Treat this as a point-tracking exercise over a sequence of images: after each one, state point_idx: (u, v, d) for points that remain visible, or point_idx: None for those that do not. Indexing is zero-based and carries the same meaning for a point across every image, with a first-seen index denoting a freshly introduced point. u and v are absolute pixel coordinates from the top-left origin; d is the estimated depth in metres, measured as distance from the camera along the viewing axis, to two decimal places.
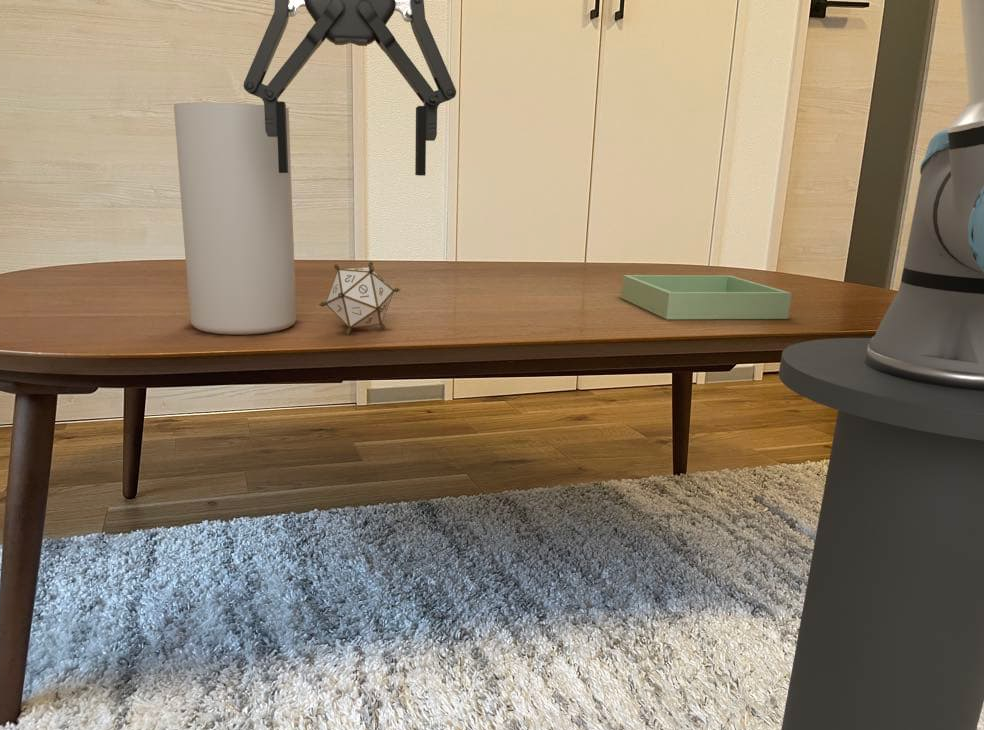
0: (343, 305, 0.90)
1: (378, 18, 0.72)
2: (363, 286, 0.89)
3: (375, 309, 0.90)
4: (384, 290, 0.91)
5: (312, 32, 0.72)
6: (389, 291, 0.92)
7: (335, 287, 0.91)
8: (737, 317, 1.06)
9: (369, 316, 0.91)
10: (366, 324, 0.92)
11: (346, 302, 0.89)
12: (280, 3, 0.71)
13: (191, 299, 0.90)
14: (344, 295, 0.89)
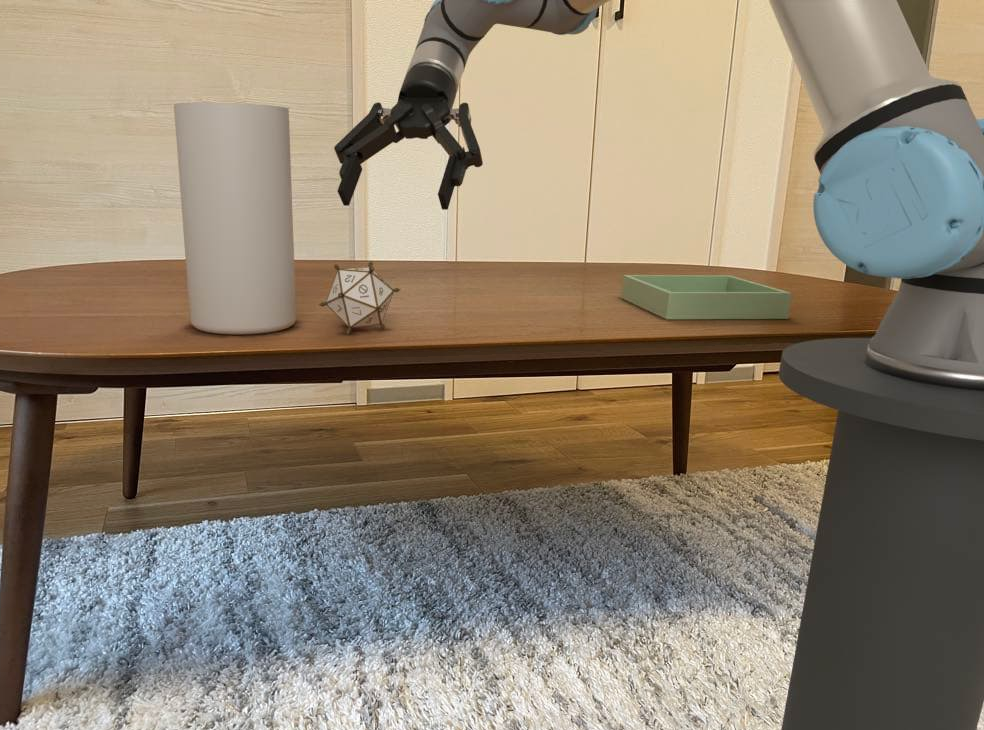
0: (343, 305, 0.90)
1: (433, 112, 1.03)
2: (363, 286, 0.89)
3: (375, 309, 0.90)
4: (384, 290, 0.91)
5: (388, 119, 1.04)
6: (389, 291, 0.92)
7: (335, 287, 0.91)
8: (737, 317, 1.06)
9: (369, 316, 0.91)
10: (366, 324, 0.92)
11: (346, 302, 0.89)
12: (373, 110, 1.06)
13: (191, 299, 0.90)
14: (344, 295, 0.89)
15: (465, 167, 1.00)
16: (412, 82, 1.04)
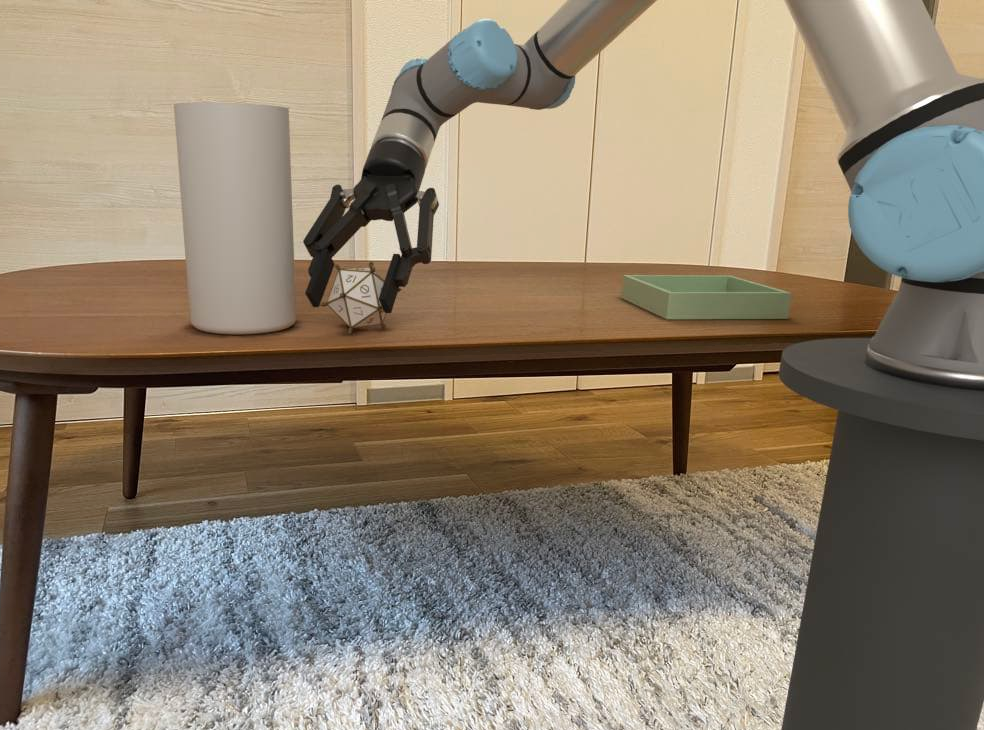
0: (345, 305, 0.90)
1: (396, 195, 0.94)
2: (364, 286, 0.89)
3: (377, 309, 0.90)
4: None
5: (353, 204, 0.95)
6: None
7: (336, 287, 0.91)
8: (737, 317, 1.06)
9: (370, 316, 0.91)
10: (367, 324, 0.92)
11: (348, 302, 0.89)
12: (334, 193, 0.97)
13: (191, 299, 0.90)
14: (345, 296, 0.89)
15: (411, 265, 0.91)
16: (376, 159, 0.95)
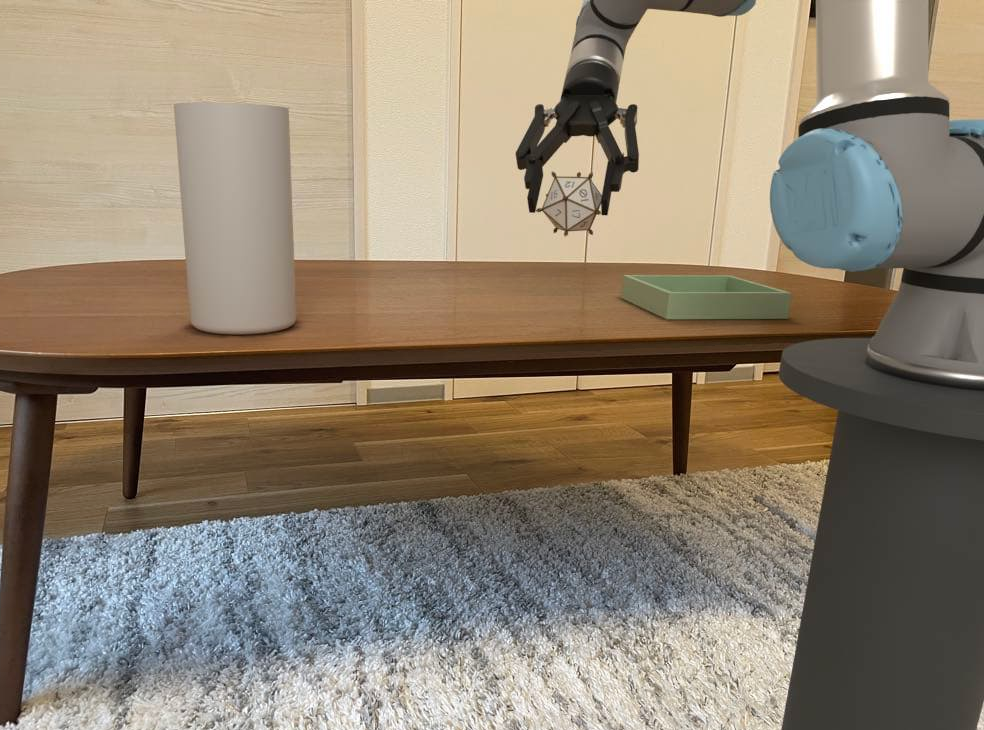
0: (564, 208, 0.97)
1: (601, 111, 1.02)
2: (583, 190, 0.97)
3: (593, 212, 0.97)
4: (597, 196, 0.99)
5: (559, 119, 1.03)
6: (600, 198, 1.00)
7: (554, 193, 0.98)
8: (737, 317, 1.06)
9: (586, 220, 0.98)
10: (579, 228, 1.00)
11: (568, 205, 0.97)
12: (538, 112, 1.05)
13: (191, 299, 0.90)
14: (567, 199, 0.97)
15: (622, 172, 0.99)
16: (580, 79, 1.03)
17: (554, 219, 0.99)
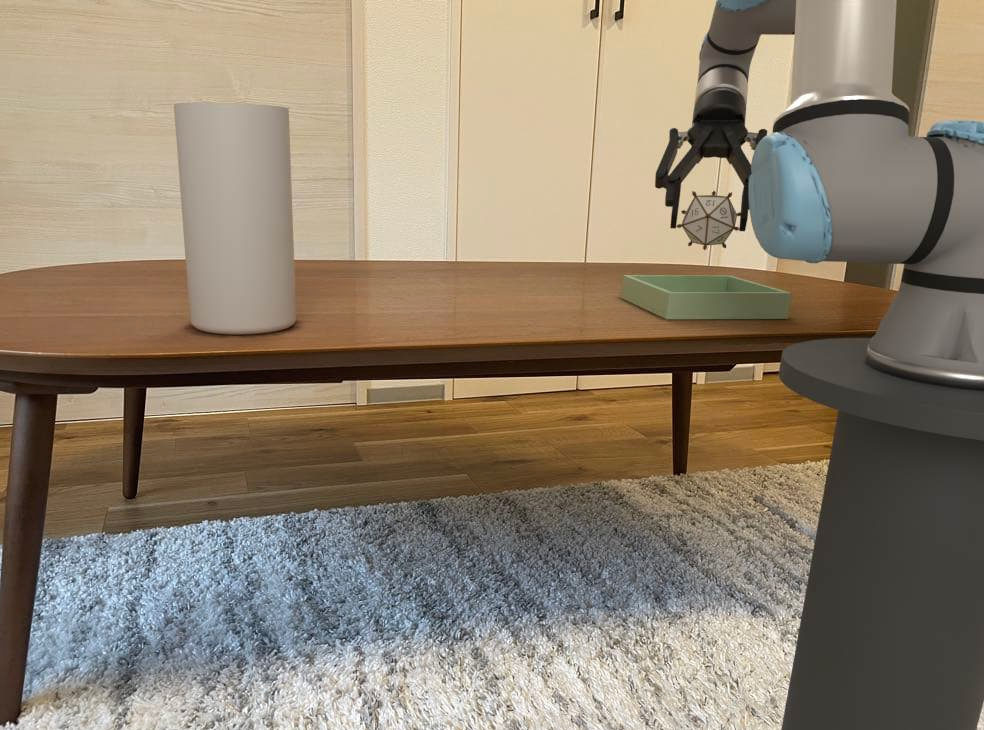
0: (705, 225, 1.07)
1: (734, 135, 1.12)
2: (723, 209, 1.07)
3: (732, 228, 1.07)
4: (733, 213, 1.09)
5: (695, 143, 1.12)
6: (735, 215, 1.10)
7: (695, 210, 1.08)
8: (737, 317, 1.06)
9: (723, 235, 1.08)
10: (716, 242, 1.10)
11: (709, 222, 1.07)
12: (673, 135, 1.15)
13: (191, 299, 0.90)
14: (709, 216, 1.07)
15: None
16: (714, 105, 1.13)
17: (694, 234, 1.09)
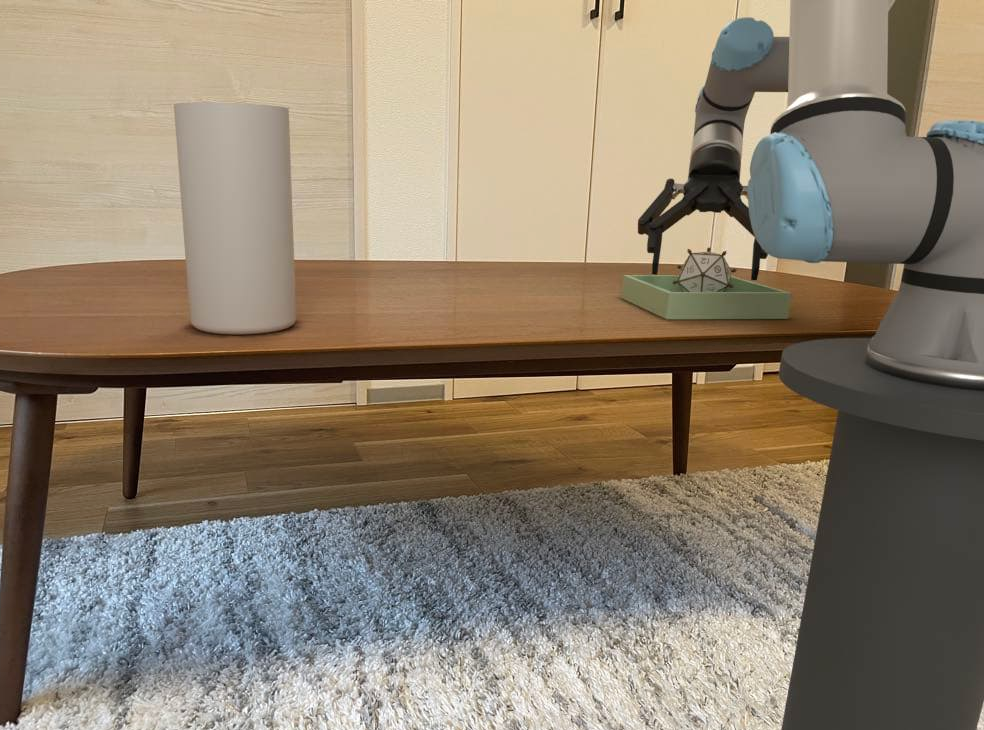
0: (700, 282, 1.10)
1: (731, 189, 1.14)
2: (717, 267, 1.10)
3: (726, 286, 1.10)
4: (728, 270, 1.11)
5: (686, 195, 1.15)
6: (730, 271, 1.12)
7: (690, 268, 1.11)
8: (737, 317, 1.06)
9: None
10: None
11: (704, 280, 1.09)
12: (668, 185, 1.18)
13: (191, 299, 0.90)
14: (703, 274, 1.09)
15: None
16: (709, 161, 1.15)
17: (689, 291, 1.12)
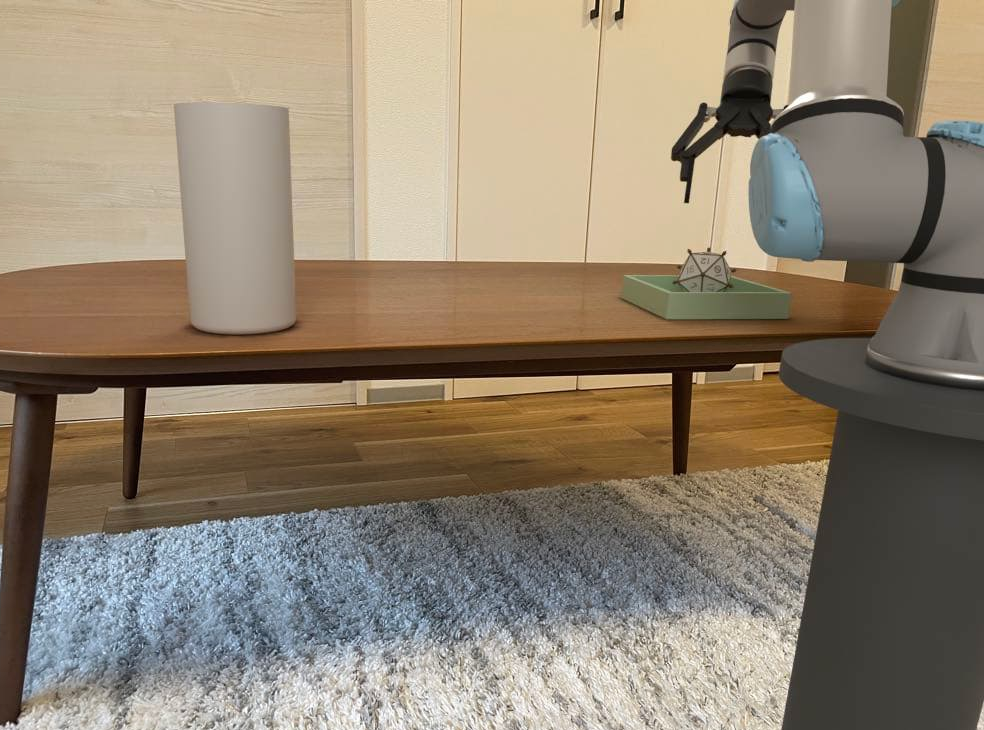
0: (700, 282, 1.10)
1: (761, 115, 1.20)
2: (717, 267, 1.10)
3: (726, 286, 1.10)
4: (728, 270, 1.11)
5: (719, 122, 1.21)
6: (730, 271, 1.12)
7: (690, 268, 1.11)
8: (737, 317, 1.06)
9: None
10: None
11: (704, 280, 1.09)
12: (701, 110, 1.23)
13: (191, 299, 0.90)
14: (703, 274, 1.09)
15: None
16: (742, 87, 1.20)
17: (689, 291, 1.12)
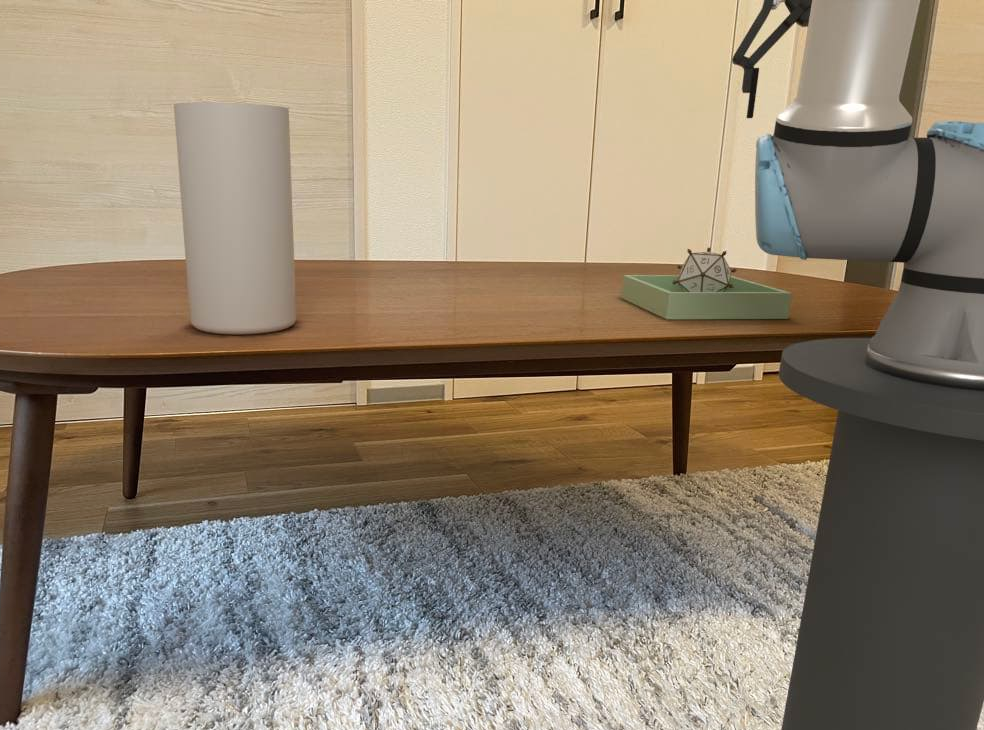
0: (700, 282, 1.10)
1: None
2: (717, 267, 1.10)
3: (726, 286, 1.10)
4: (728, 270, 1.11)
5: (788, 19, 1.06)
6: (730, 271, 1.12)
7: (690, 268, 1.11)
8: (737, 317, 1.06)
9: None
10: None
11: (704, 280, 1.09)
12: (767, 1, 1.06)
13: (191, 299, 0.90)
14: (703, 274, 1.09)
15: None
16: None
17: (689, 291, 1.12)
